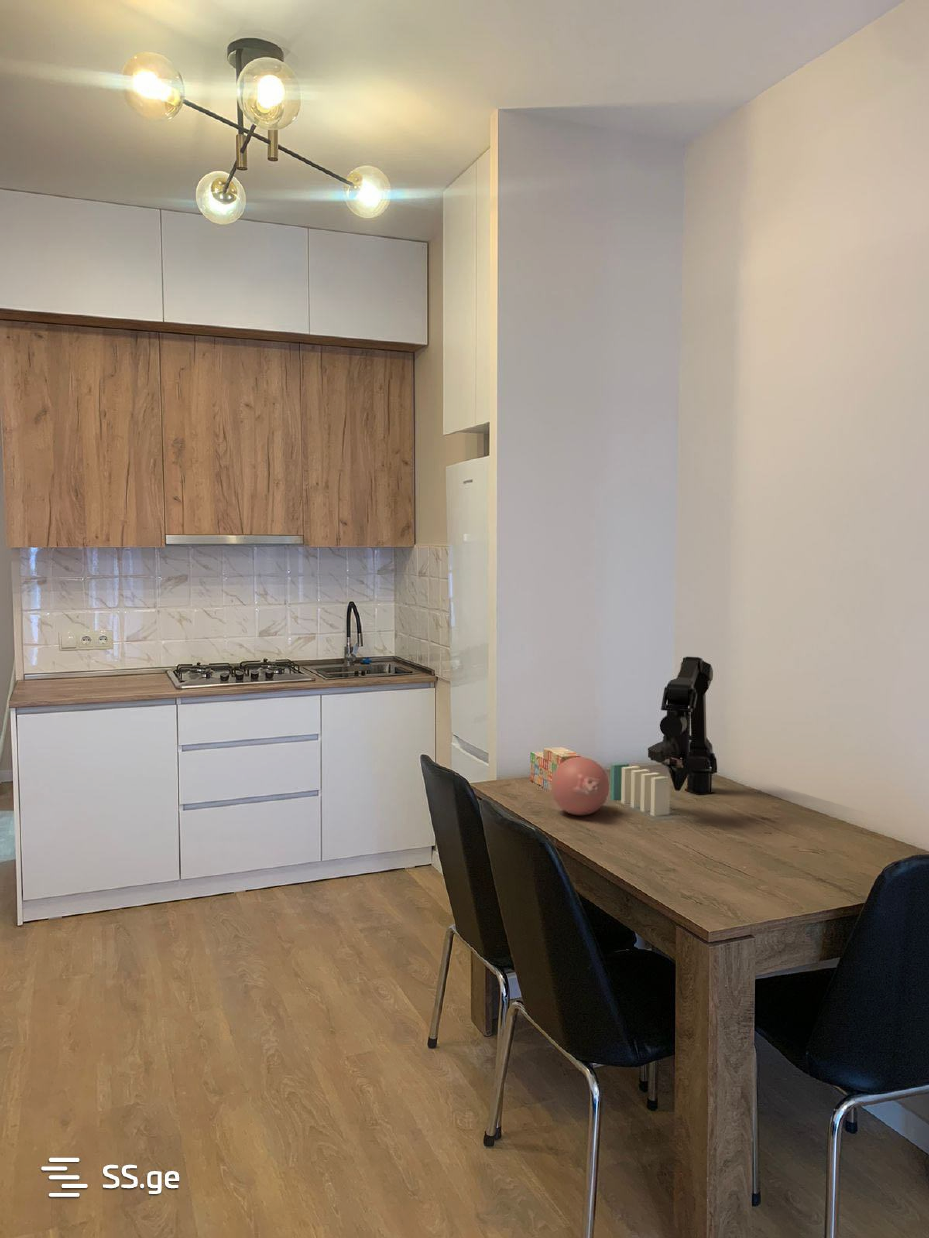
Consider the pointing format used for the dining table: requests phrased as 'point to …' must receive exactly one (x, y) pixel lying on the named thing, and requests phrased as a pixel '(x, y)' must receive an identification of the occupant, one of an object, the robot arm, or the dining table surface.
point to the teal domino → (616, 780)
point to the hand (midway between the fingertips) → (677, 790)
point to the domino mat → (660, 817)
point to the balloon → (580, 786)
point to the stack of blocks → (548, 764)
